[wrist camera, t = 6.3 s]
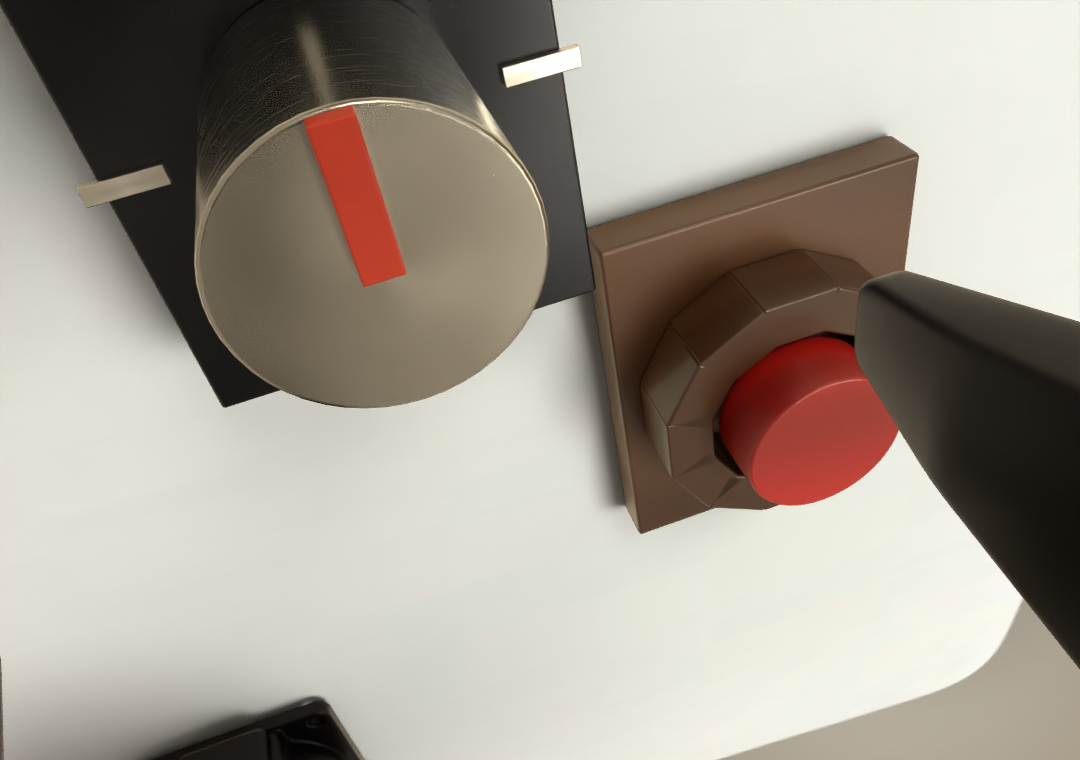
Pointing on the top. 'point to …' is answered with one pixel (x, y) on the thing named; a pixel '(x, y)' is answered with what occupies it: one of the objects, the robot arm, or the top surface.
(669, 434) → the switch block
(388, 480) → the top surface
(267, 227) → the dimmer knob
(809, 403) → the button
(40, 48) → the dimmer panel
